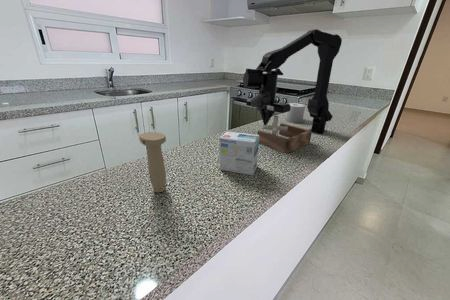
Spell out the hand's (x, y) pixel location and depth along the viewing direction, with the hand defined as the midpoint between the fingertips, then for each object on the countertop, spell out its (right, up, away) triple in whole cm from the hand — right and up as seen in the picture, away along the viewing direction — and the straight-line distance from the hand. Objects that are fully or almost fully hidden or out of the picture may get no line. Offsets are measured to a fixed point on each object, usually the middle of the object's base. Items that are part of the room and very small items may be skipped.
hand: (265, 124), depth 91 cm
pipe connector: (+3, -6, -1) cm, 7 cm away
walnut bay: (+6, -7, -4) cm, 10 cm away
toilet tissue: (+21, +6, +27) cm, 35 cm away
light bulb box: (-13, -17, -24) cm, 32 cm away
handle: (-34, -21, -35) cm, 54 cm away
